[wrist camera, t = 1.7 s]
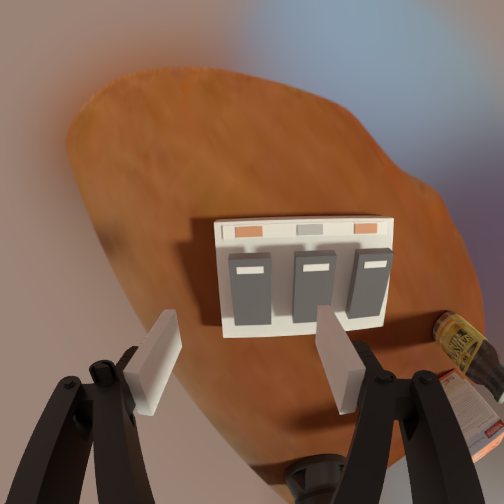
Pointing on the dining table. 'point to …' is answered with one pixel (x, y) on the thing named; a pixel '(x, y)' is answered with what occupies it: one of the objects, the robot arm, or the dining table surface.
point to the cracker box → (472, 415)
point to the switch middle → (312, 283)
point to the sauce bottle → (470, 352)
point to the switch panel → (282, 264)
